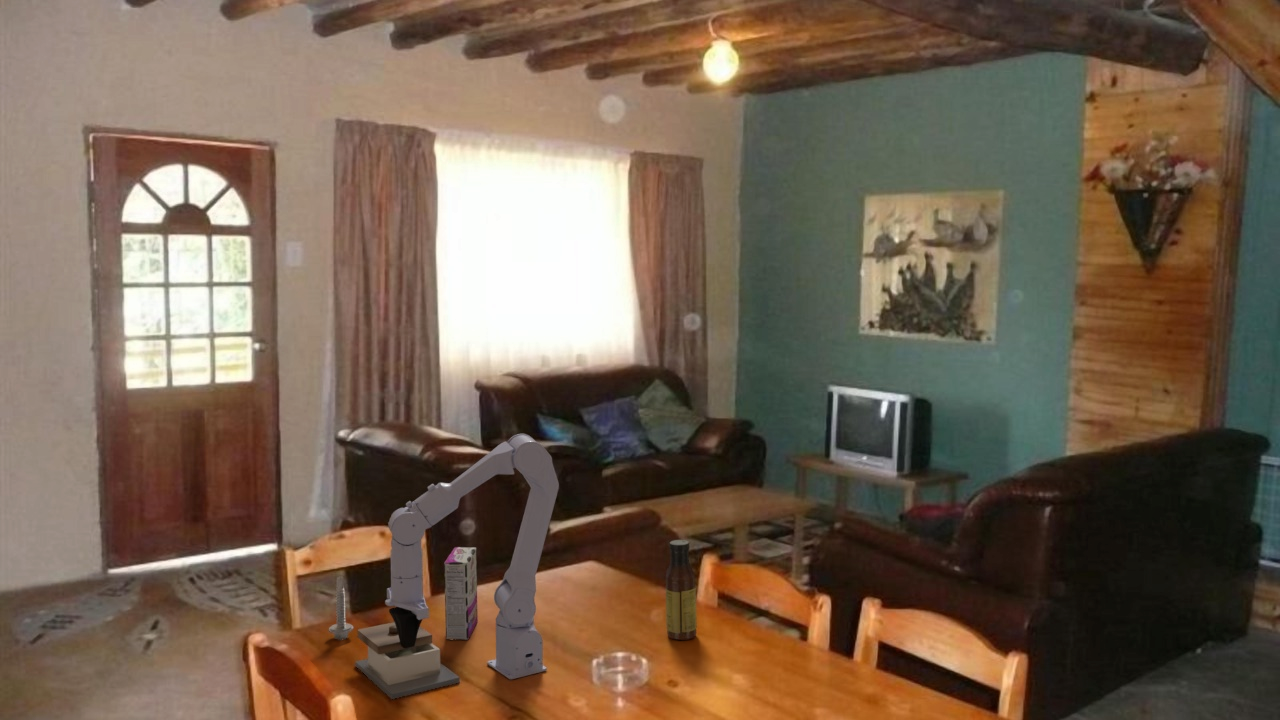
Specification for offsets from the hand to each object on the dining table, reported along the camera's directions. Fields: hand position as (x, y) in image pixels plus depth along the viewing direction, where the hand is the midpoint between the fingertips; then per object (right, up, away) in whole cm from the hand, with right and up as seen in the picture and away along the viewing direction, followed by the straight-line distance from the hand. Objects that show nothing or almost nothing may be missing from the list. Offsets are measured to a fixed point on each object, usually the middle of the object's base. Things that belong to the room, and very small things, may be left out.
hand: (407, 646), depth 193 cm
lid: (-4, 0, +5) cm, 6 cm away
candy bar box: (+6, -4, +25) cm, 26 cm away
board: (-1, -6, +3) cm, 7 cm away
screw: (-18, -4, +21) cm, 28 cm away
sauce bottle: (+51, -5, +24) cm, 56 cm away
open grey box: (-1, -6, +2) cm, 7 cm away
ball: (-1, -4, +3) cm, 5 cm away
